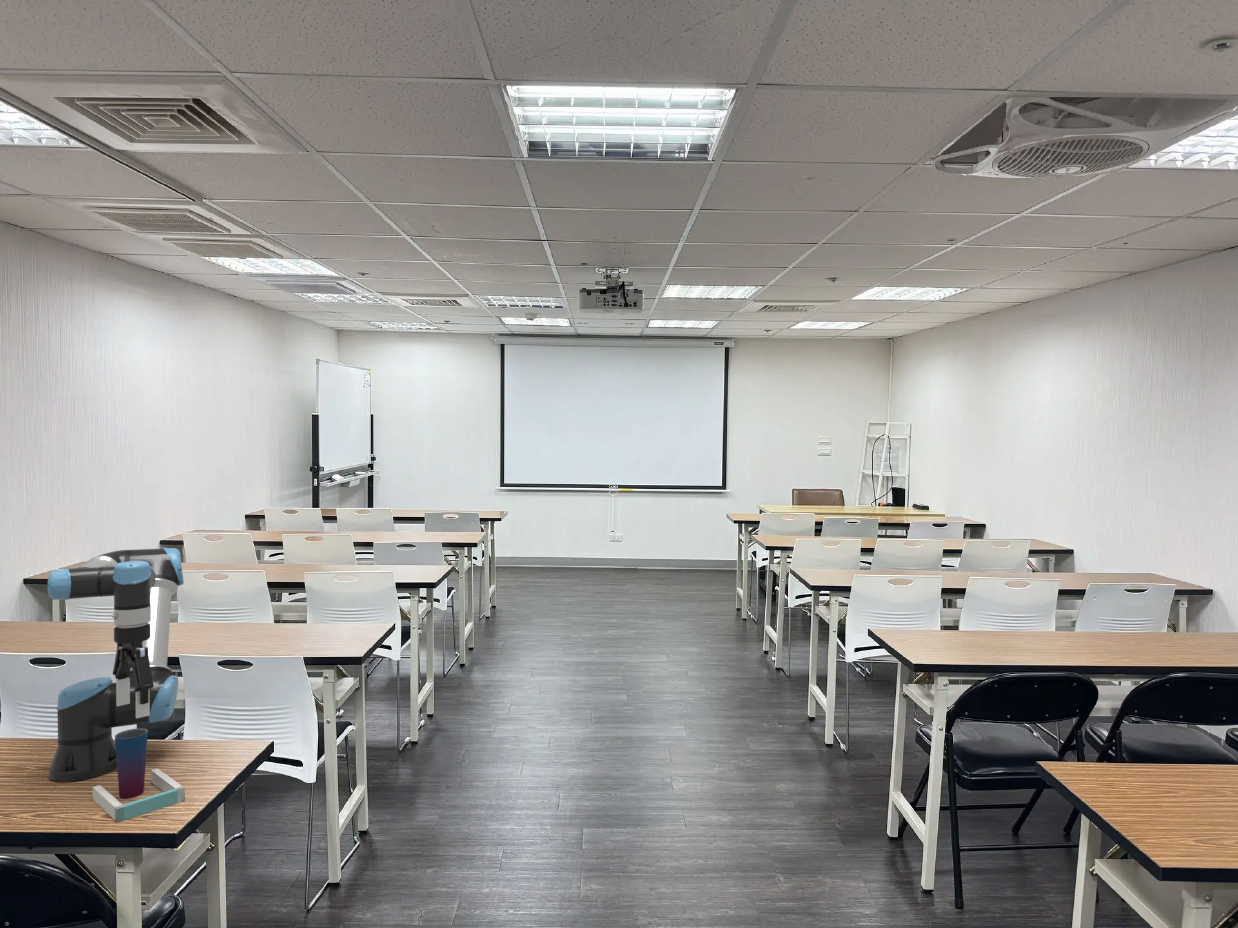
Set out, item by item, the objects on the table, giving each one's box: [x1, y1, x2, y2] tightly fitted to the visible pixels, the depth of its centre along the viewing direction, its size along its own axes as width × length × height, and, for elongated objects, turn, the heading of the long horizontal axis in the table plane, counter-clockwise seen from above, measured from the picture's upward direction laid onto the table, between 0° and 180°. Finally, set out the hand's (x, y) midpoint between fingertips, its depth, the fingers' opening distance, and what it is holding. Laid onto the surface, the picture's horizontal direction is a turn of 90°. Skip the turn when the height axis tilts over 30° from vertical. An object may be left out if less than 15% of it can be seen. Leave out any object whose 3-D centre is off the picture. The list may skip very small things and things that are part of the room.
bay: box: [92, 768, 186, 823], centre depth 176 cm, size 18×14×3 cm
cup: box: [114, 727, 149, 799], centre depth 179 cm, size 7×7×15 cm
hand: (132, 710), depth 179 cm, fingers open, 13 cm apart
